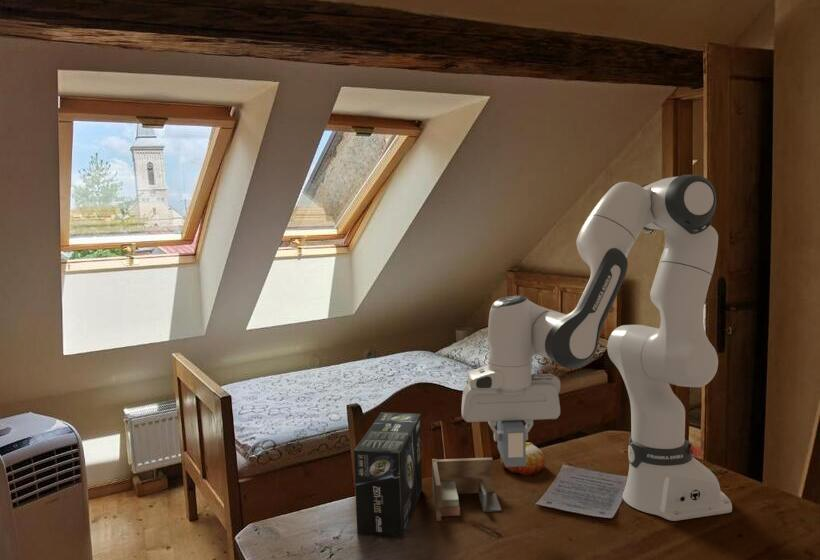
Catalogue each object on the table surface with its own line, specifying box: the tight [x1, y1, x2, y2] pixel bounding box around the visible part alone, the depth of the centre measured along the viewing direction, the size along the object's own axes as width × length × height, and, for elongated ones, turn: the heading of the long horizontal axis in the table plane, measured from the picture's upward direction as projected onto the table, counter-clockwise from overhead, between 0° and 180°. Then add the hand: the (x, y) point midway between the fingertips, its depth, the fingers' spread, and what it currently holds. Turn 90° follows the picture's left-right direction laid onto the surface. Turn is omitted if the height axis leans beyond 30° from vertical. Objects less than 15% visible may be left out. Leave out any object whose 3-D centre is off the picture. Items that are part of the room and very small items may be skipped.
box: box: [353, 412, 423, 539], centre depth 142 cm, size 23×10×19 cm, turn 168°
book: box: [496, 420, 526, 467], centre depth 135 cm, size 4×10×8 cm, turn 2°
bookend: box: [478, 479, 502, 513], centre depth 146 cm, size 4×8×4 cm, turn 2°
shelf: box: [431, 457, 494, 522], centre depth 145 cm, size 14×14×8 cm
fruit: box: [499, 441, 546, 476], centre depth 164 cm, size 11×10×8 cm
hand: (510, 439), depth 135 cm, fingers closed on book, 4 cm apart
